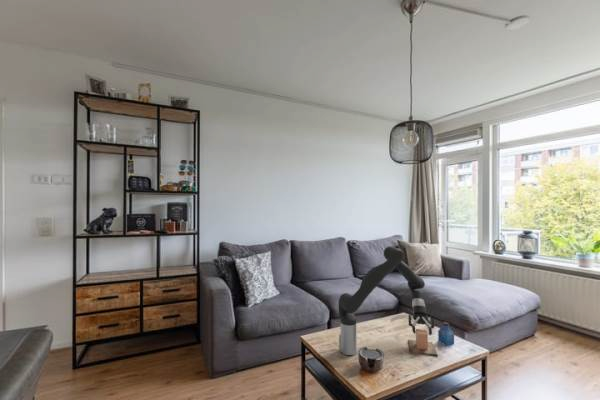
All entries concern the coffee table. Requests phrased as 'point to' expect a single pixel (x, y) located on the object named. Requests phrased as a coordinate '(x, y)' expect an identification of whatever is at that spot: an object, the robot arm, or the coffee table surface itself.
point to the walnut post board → (415, 350)
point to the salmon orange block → (421, 339)
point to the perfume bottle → (446, 334)
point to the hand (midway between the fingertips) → (422, 334)
